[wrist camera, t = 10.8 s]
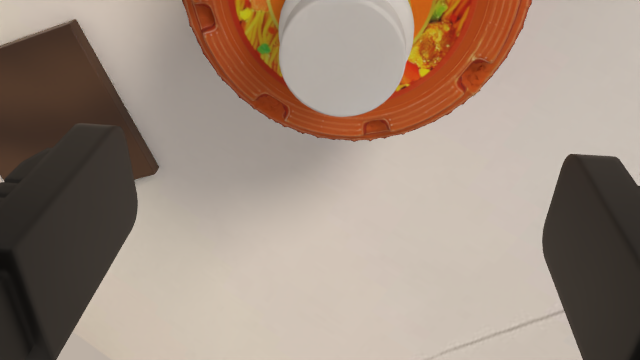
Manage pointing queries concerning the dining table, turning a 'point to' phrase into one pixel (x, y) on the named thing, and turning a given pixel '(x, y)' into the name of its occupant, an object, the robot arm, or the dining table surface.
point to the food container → (417, 81)
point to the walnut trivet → (58, 97)
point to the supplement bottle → (344, 52)
